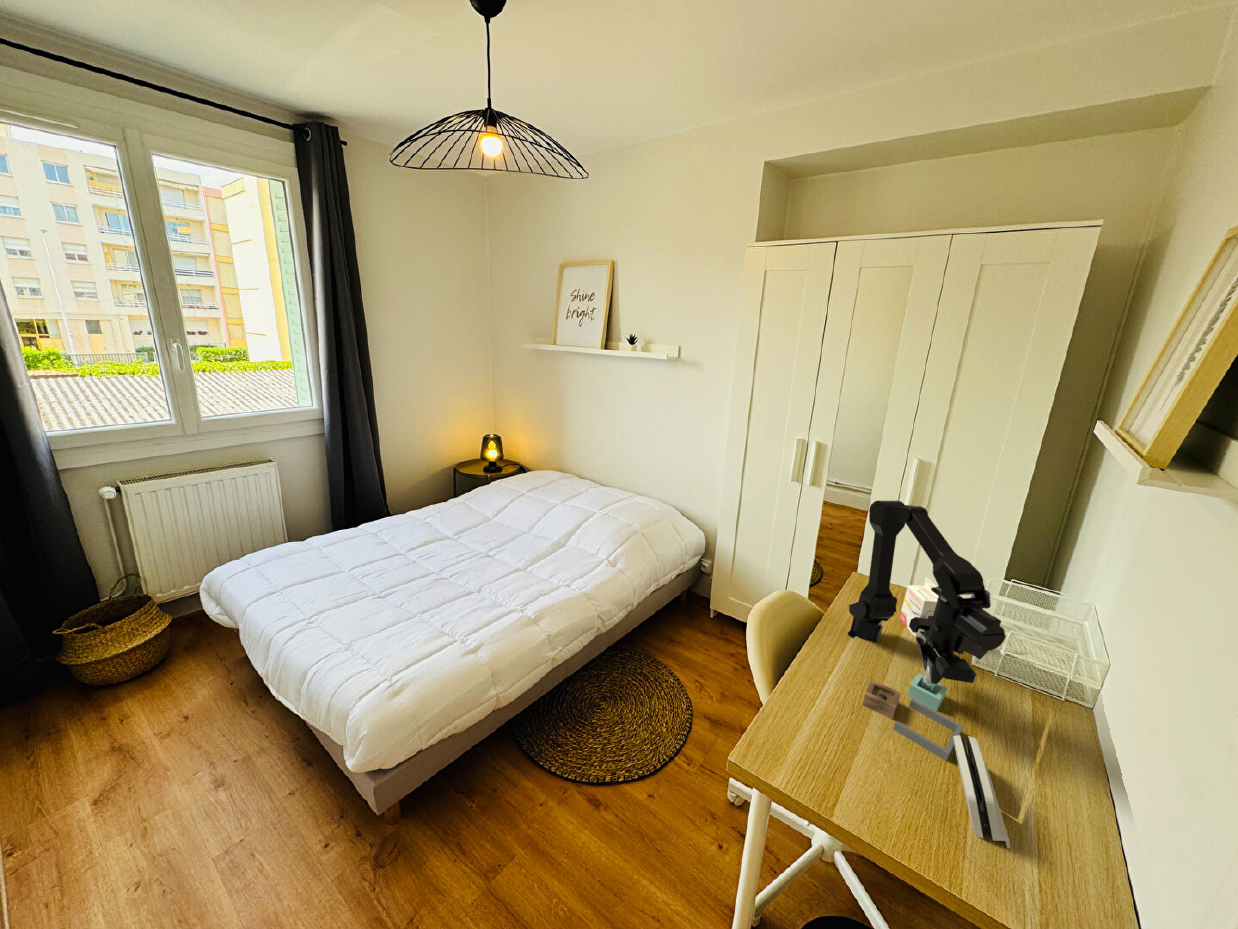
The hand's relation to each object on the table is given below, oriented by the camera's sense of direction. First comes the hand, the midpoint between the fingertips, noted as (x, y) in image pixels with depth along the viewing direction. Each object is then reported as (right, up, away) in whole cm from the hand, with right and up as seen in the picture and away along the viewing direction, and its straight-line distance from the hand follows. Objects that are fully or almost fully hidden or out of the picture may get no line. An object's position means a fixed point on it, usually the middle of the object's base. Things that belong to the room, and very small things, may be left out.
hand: (930, 678), depth 109 cm
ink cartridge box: (+14, +2, +28) cm, 32 cm away
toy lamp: (+25, -1, +23) cm, 34 cm away
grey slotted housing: (-6, -13, -21) cm, 26 cm away
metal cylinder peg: (0, -4, +1) cm, 5 cm away
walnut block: (-12, -6, -1) cm, 14 cm away
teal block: (0, -6, +2) cm, 6 cm away
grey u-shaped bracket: (-6, -8, -8) cm, 13 cm away
